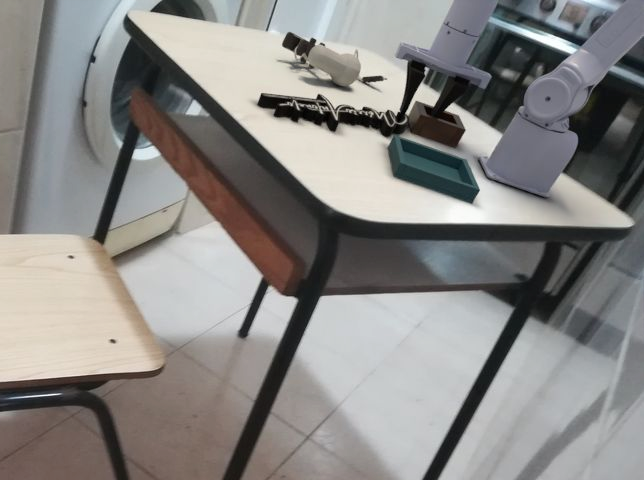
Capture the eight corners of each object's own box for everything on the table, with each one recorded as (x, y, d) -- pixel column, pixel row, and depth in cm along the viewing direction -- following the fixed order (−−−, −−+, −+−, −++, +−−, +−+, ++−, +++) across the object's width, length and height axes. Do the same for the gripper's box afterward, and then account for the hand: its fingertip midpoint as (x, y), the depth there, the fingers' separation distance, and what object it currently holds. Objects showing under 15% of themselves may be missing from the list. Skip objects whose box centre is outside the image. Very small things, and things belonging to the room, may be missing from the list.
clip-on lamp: (342, 85, 126) (273, 51, 115) (360, 51, 123) (291, 13, 112) (382, 107, 118) (312, 73, 107) (402, 71, 115) (332, 33, 104)
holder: (459, 172, 97) (466, 159, 96) (472, 203, 89) (480, 190, 87) (387, 147, 96) (394, 134, 95) (393, 176, 88) (400, 162, 87)
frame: (449, 132, 111) (458, 115, 109) (455, 147, 105) (466, 130, 103) (407, 117, 110) (415, 100, 109) (411, 132, 105) (420, 114, 103)
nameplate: (389, 102, 109) (429, 130, 103) (385, 111, 110) (424, 140, 104) (251, 85, 96) (287, 117, 90) (248, 96, 97) (283, 128, 91)
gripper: (501, 39, 102) (454, 123, 110) (412, 7, 101) (372, 94, 110) (511, 50, 96) (461, 138, 105) (417, 17, 96) (374, 108, 104)
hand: (416, 117), depth 107 cm, fingers open, 4 cm apart
